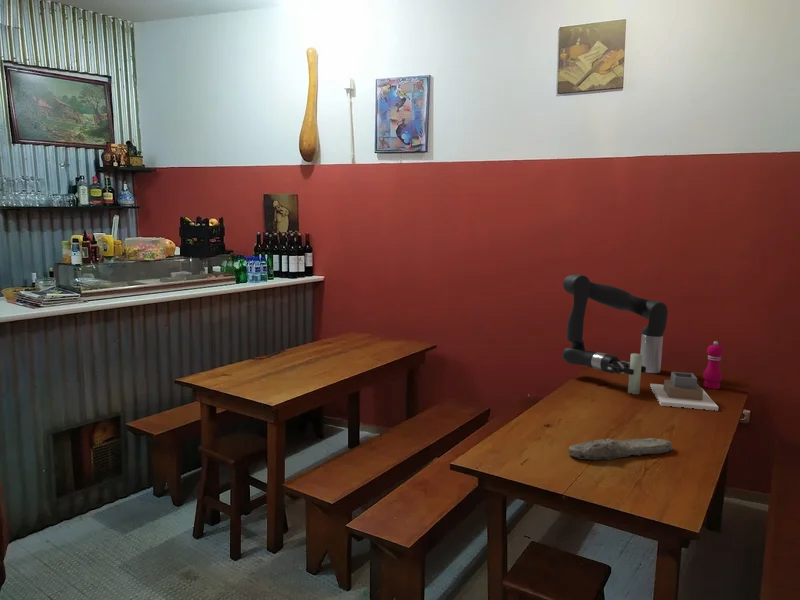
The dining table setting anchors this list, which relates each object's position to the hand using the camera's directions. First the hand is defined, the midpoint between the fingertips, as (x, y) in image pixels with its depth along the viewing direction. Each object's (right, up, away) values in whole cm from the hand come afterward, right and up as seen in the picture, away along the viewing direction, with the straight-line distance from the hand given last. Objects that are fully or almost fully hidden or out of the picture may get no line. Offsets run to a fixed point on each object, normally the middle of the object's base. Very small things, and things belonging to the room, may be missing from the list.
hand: (639, 370), depth 243 cm
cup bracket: (+16, -11, -3) cm, 19 cm away
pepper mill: (+36, -9, +14) cm, 40 cm away
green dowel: (-1, -9, +3) cm, 10 cm away
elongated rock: (-30, -18, -60) cm, 69 cm away
